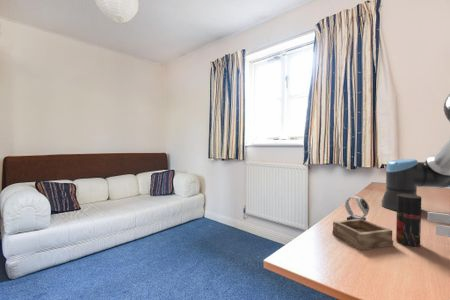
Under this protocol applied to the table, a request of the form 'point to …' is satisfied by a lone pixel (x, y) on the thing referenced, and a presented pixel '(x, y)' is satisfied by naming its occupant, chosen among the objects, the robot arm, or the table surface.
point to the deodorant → (408, 220)
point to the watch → (362, 205)
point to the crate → (362, 234)
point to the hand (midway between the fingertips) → (431, 222)
